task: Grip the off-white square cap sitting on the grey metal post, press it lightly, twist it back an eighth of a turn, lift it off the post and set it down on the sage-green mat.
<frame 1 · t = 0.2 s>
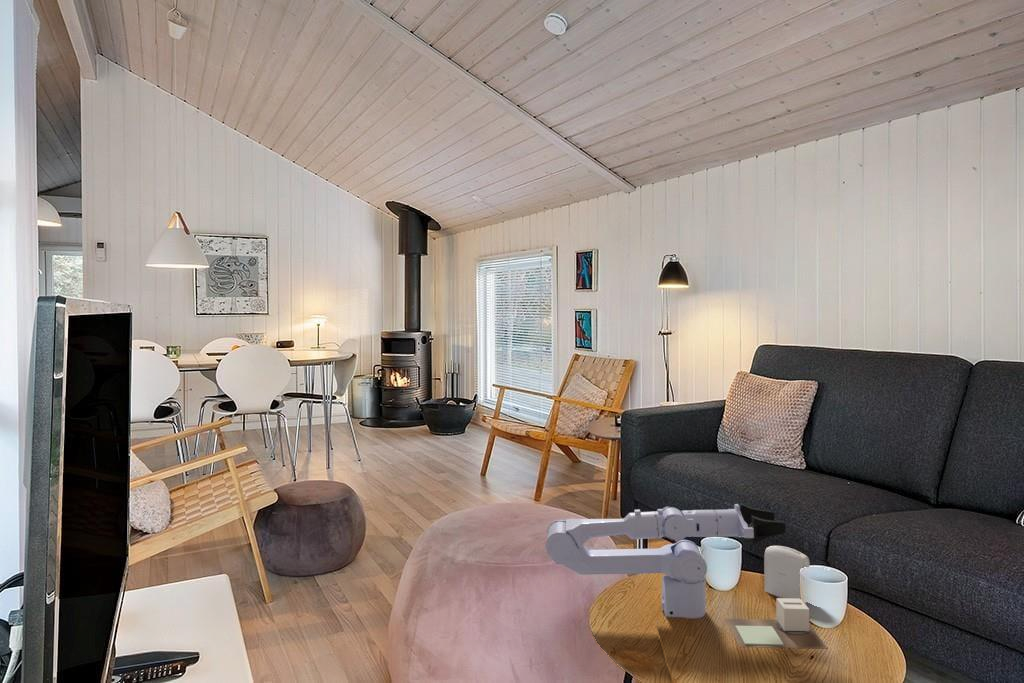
hand: (779, 522, 146), 21 cm above the table, tool horizontal, fingers open, 7 cm apart
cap: (792, 625, 141), point 2 cm above the table, touching post
board: (774, 638, 139), on the table
mat: (758, 636, 137), resting on board
post: (792, 627, 141), resting on board
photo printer: (786, 601, 156), on the table
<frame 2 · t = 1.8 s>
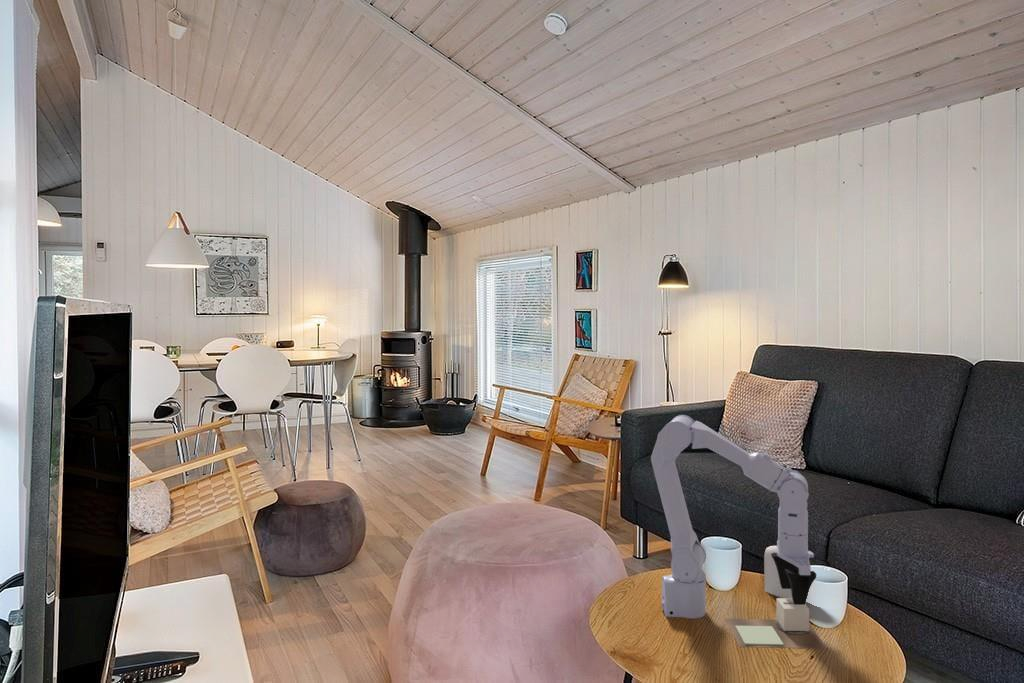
hand: (792, 595, 140), 8 cm above the table, tool pointing down, fingers open, 7 cm apart
nothing on the table moved.
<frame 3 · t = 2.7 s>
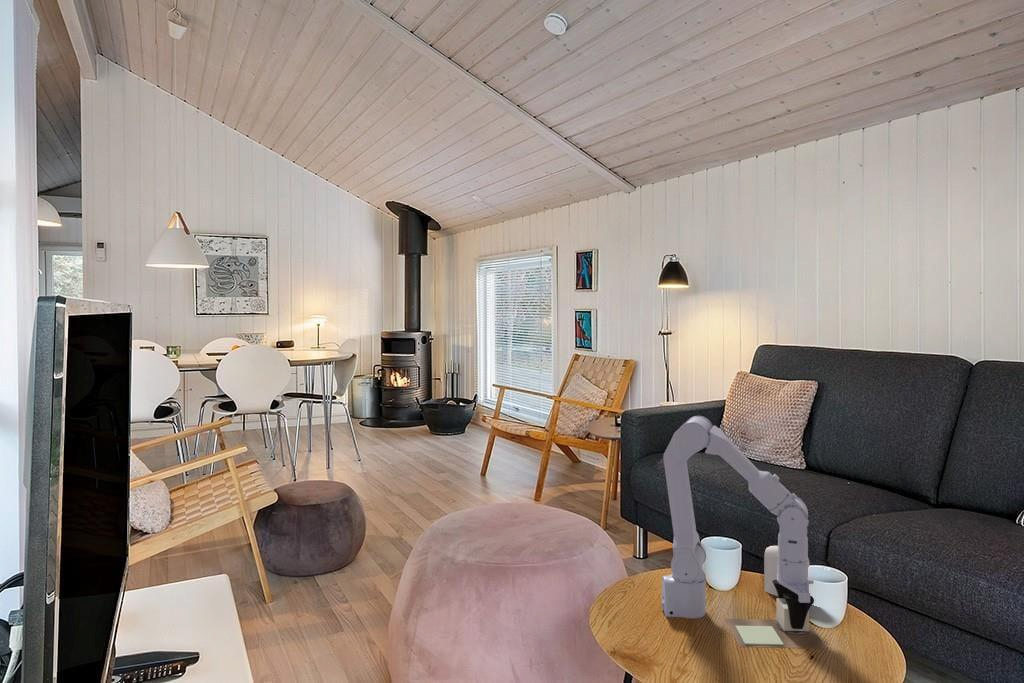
hand: (792, 621, 141), 2 cm above the table, tool pointing down, fingers closed on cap, 5 cm apart
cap: (792, 625, 141), point 2 cm above the table, touching gripper, post
everything else where it was.
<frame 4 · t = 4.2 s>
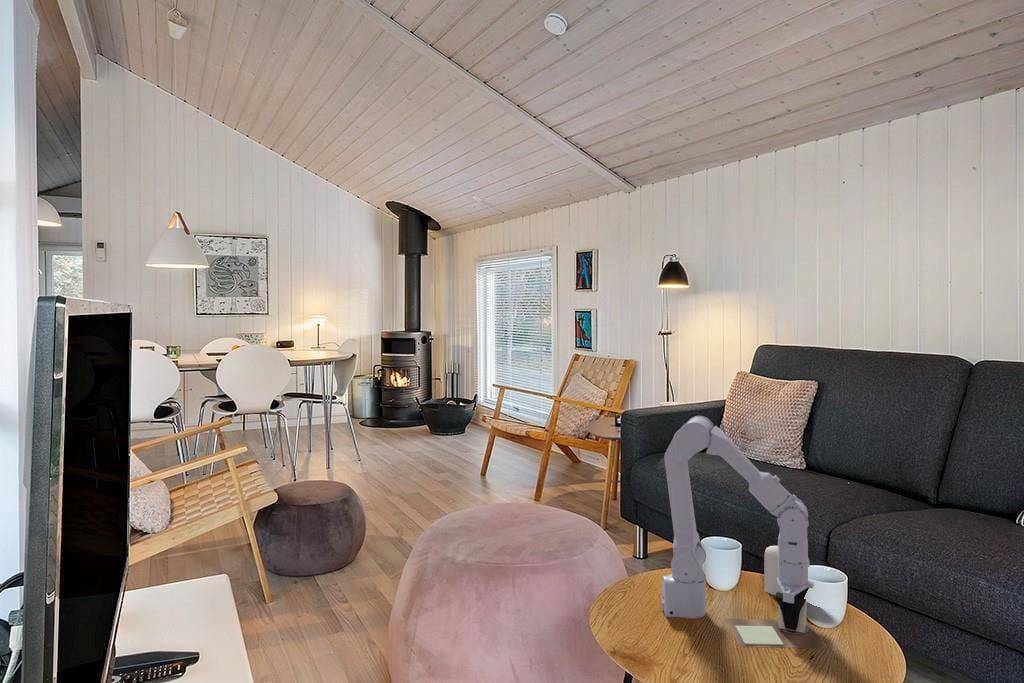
hand: (792, 623, 141), 2 cm above the table, tool pointing down, fingers closed on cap, 5 cm apart
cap: (792, 625, 141), point 2 cm above the table, touching gripper
everything else where it was.
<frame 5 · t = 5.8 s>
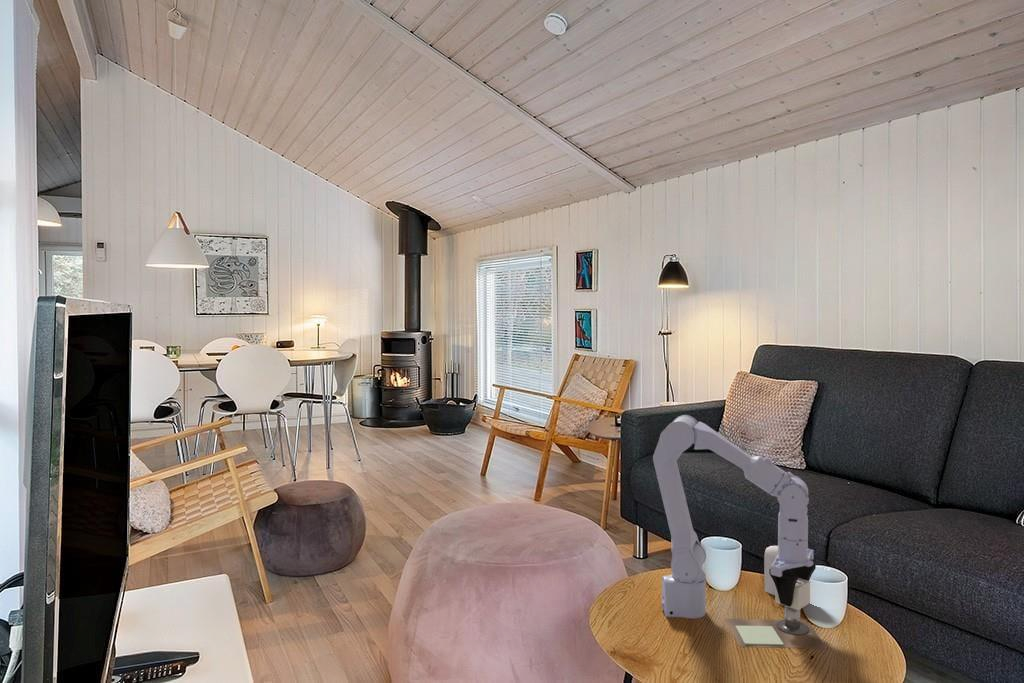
hand: (792, 600, 140), 7 cm above the table, tool pointing down, fingers closed on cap, 5 cm apart
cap: (792, 602, 140), point 6 cm above the table, touching gripper
everything else where it was.
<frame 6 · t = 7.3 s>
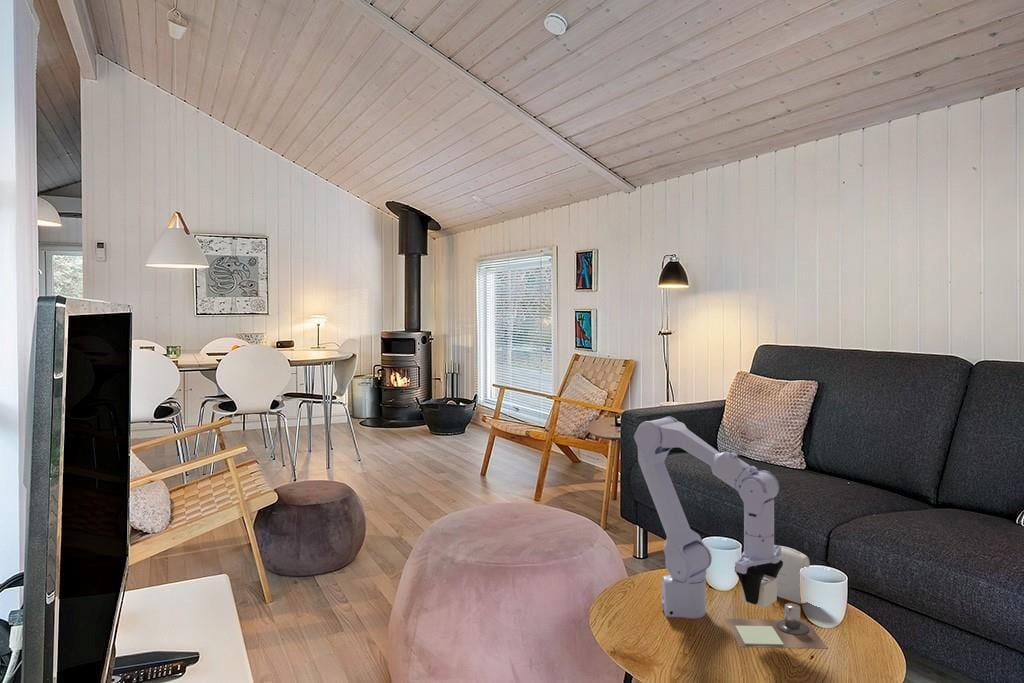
hand: (758, 598, 137), 9 cm above the table, tool pointing down, fingers closed on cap, 5 cm apart
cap: (758, 600, 137), point 9 cm above the table, touching gripper
everything else where it was.
when the fingers open (3 cm above the table, at t = 8.7 s): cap drops 2 cm, resting on mat.
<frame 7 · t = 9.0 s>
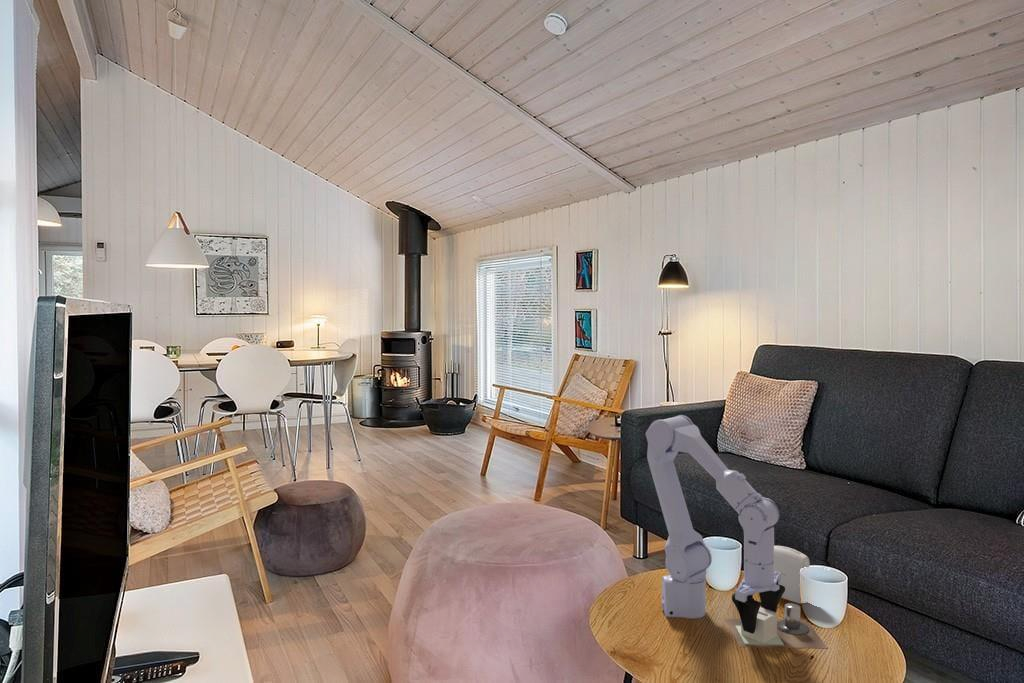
hand: (758, 625, 137), 3 cm above the table, tool pointing down, fingers open, 7 cm apart
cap: (758, 634, 137), point 1 cm above the table, touching mat
everything else where it was.
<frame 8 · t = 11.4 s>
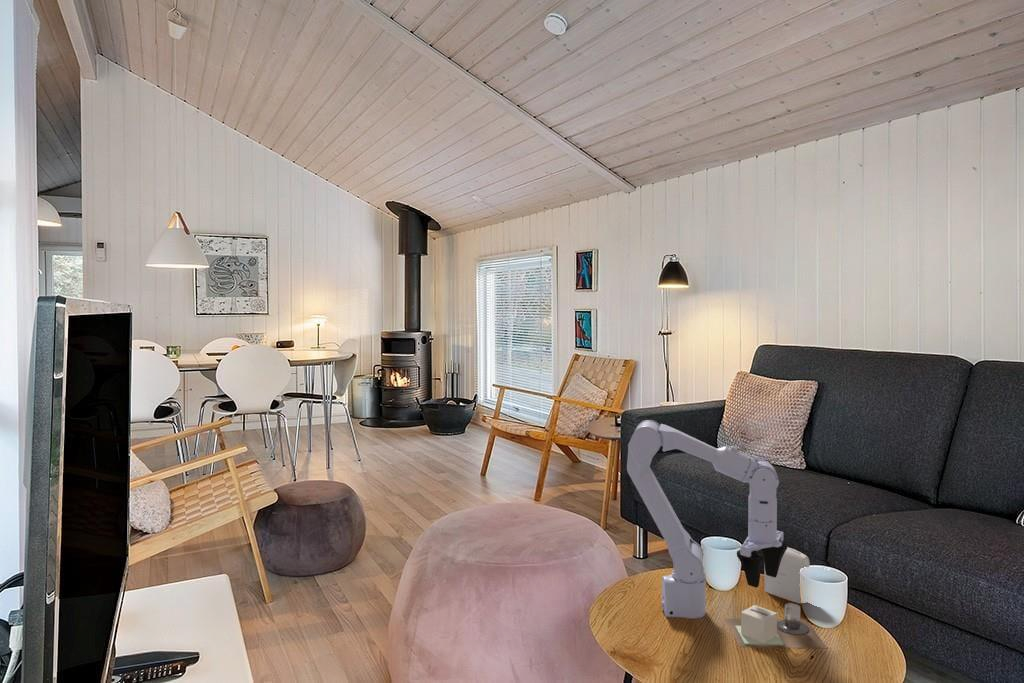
hand: (762, 580, 145), 9 cm above the table, tool pointing down, fingers open, 7 cm apart
nothing on the table moved.
at the end: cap 0.0 cm off-centre on the mat, point 0.3 cm above the mat's base; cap tilted 0°; the gripper is holding nothing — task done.
